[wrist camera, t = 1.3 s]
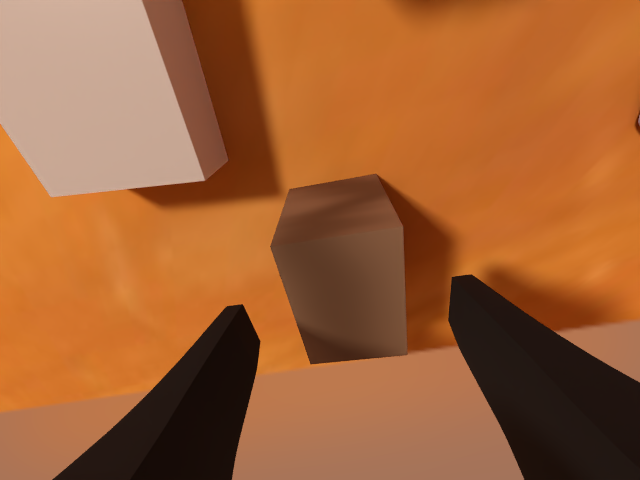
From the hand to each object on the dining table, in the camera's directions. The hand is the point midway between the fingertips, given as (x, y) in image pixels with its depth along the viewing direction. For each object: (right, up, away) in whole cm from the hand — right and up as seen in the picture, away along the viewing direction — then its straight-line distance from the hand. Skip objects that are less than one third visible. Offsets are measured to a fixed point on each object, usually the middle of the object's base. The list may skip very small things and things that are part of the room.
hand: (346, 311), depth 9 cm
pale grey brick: (-8, +9, +1) cm, 13 cm away
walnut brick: (0, +3, +4) cm, 5 cm away
